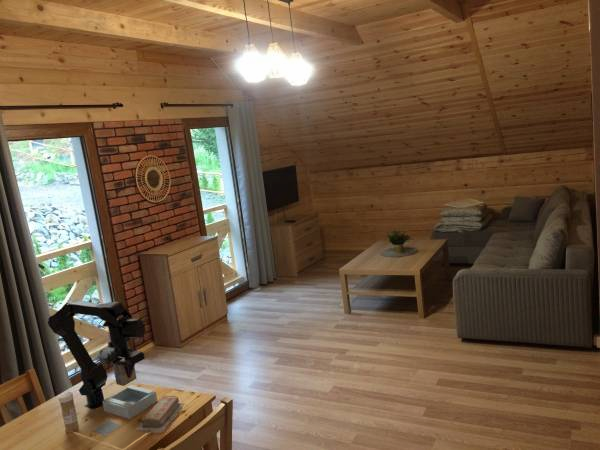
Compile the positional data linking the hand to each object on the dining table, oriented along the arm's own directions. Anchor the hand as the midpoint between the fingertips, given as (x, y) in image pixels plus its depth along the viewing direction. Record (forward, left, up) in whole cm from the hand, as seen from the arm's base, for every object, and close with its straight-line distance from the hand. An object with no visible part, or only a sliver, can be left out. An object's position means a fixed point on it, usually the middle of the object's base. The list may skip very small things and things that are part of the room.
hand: (125, 376), depth 194 cm
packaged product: (+17, -1, -13) cm, 22 cm away
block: (0, 0, -2) cm, 2 cm away
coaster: (+4, -14, -12) cm, 19 cm away
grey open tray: (0, 0, -12) cm, 13 cm away
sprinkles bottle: (-9, -19, -13) cm, 24 cm away
